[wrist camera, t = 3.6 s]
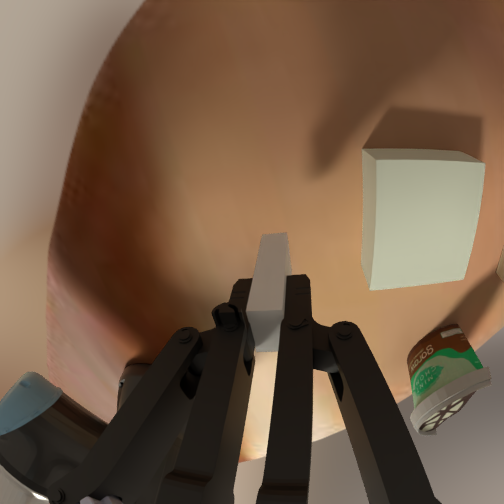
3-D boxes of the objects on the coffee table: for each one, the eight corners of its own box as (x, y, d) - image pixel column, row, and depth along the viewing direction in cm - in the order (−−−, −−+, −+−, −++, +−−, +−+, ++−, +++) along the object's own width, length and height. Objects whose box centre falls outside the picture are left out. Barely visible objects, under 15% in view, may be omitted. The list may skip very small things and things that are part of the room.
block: (360, 262, 23) (369, 290, 20) (360, 147, 18) (376, 159, 15) (445, 254, 22) (463, 279, 18) (458, 150, 17) (485, 163, 13)
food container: (424, 313, 25) (454, 389, 17) (463, 314, 25) (494, 381, 16) (383, 378, 32) (394, 443, 23) (419, 377, 31) (434, 436, 23)
